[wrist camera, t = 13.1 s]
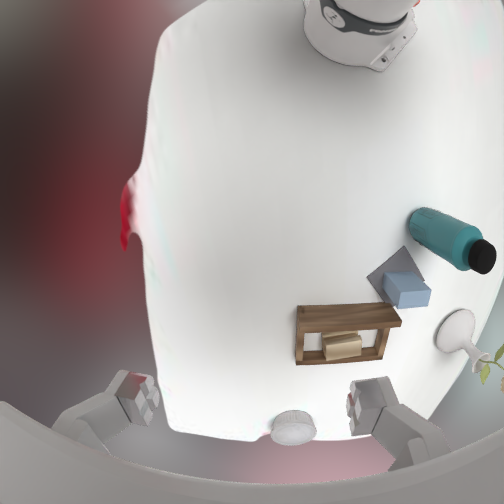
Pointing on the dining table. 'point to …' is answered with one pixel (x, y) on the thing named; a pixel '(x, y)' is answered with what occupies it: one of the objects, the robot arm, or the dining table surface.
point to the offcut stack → (341, 344)
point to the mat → (394, 264)
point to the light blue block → (406, 289)
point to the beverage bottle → (452, 240)
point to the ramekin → (293, 428)
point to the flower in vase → (466, 342)
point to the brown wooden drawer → (344, 328)
